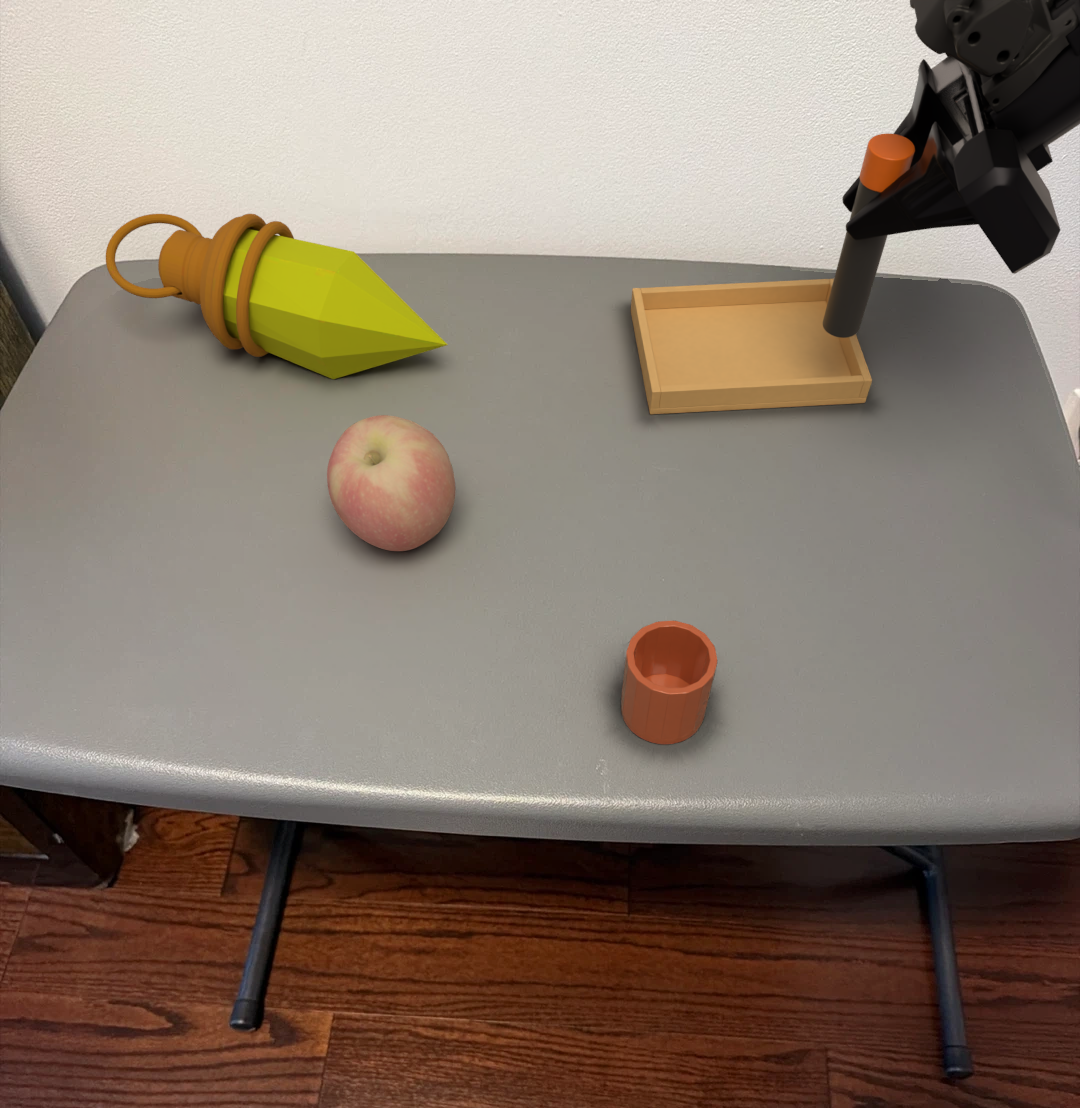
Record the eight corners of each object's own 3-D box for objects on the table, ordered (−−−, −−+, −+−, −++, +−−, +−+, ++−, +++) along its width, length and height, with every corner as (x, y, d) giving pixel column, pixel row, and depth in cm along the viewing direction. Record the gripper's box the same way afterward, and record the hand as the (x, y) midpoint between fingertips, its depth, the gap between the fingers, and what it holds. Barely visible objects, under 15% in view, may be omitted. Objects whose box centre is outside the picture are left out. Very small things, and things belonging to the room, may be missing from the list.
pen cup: (697, 672, 63) (709, 617, 59) (710, 741, 61) (723, 690, 56) (616, 677, 63) (622, 623, 59) (626, 747, 61) (632, 696, 56)
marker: (855, 312, 71) (908, 131, 61) (865, 338, 70) (920, 158, 59) (816, 314, 71) (863, 133, 61) (825, 340, 70) (874, 160, 59)
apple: (329, 498, 71) (307, 403, 64) (443, 475, 72) (433, 379, 65) (352, 589, 67) (330, 498, 60) (472, 563, 68) (464, 471, 61)
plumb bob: (469, 333, 80) (154, 239, 81) (468, 246, 72) (115, 142, 73) (429, 434, 78) (104, 336, 79) (423, 356, 69) (57, 247, 70)
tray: (830, 301, 81) (836, 277, 80) (865, 403, 76) (872, 380, 74) (630, 311, 81) (632, 287, 79) (649, 414, 75) (652, 392, 73)
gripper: (1020, -193, 55) (762, 32, 64) (1091, -12, 45) (774, 221, 55) (1109, -15, 61) (862, 165, 71) (1188, 178, 51) (888, 356, 61)
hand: (847, 219), depth 64 cm, fingers closed on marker, 2 cm apart
